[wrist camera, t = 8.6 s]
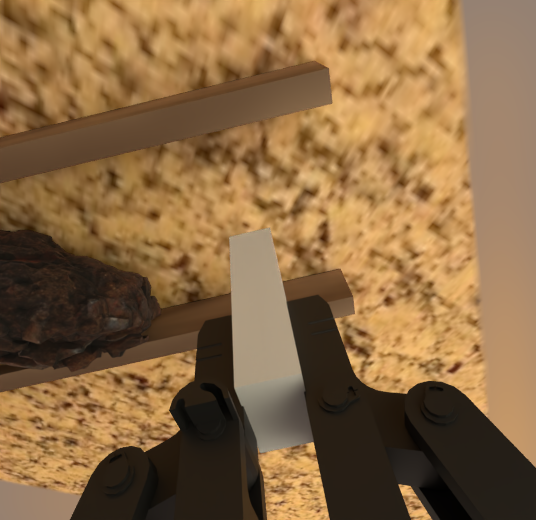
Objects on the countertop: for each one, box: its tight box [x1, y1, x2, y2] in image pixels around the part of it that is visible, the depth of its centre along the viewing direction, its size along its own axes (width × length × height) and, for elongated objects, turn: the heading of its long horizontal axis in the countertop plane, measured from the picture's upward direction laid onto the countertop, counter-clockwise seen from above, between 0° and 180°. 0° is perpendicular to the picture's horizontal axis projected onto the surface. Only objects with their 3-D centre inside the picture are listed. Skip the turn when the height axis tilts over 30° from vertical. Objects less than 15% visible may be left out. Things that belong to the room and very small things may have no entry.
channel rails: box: [0, 61, 355, 392], centre depth 18 cm, size 12×28×2 cm, turn 102°
